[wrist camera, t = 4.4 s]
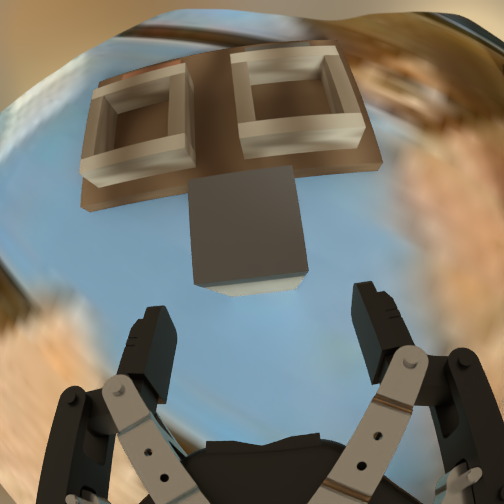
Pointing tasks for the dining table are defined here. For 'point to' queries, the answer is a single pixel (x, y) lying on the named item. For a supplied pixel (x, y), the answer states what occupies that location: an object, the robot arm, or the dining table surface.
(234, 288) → the plug
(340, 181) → the dining table surface
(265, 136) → the socket board
